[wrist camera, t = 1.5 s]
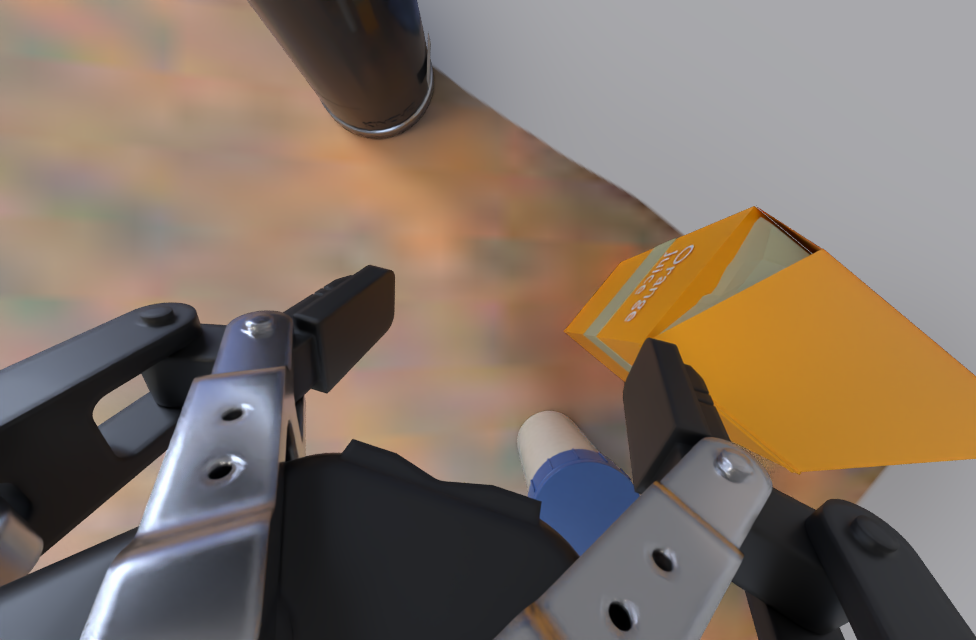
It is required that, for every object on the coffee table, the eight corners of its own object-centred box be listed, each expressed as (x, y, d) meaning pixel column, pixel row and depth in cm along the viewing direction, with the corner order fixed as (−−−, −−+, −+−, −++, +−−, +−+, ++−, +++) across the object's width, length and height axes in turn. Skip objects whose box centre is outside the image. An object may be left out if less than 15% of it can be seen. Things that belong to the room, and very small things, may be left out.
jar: (506, 425, 29) (519, 485, 19) (567, 400, 29) (613, 446, 19) (531, 485, 29) (557, 579, 19) (591, 460, 29) (651, 540, 19)
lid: (512, 471, 20) (514, 487, 18) (606, 433, 20) (619, 444, 18) (550, 566, 20) (557, 592, 18) (644, 527, 20) (661, 548, 18)
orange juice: (643, 399, 29) (983, 572, 9) (561, 332, 29) (727, 359, 9) (702, 326, 29) (1169, 344, 9) (621, 259, 29) (915, 130, 9)
